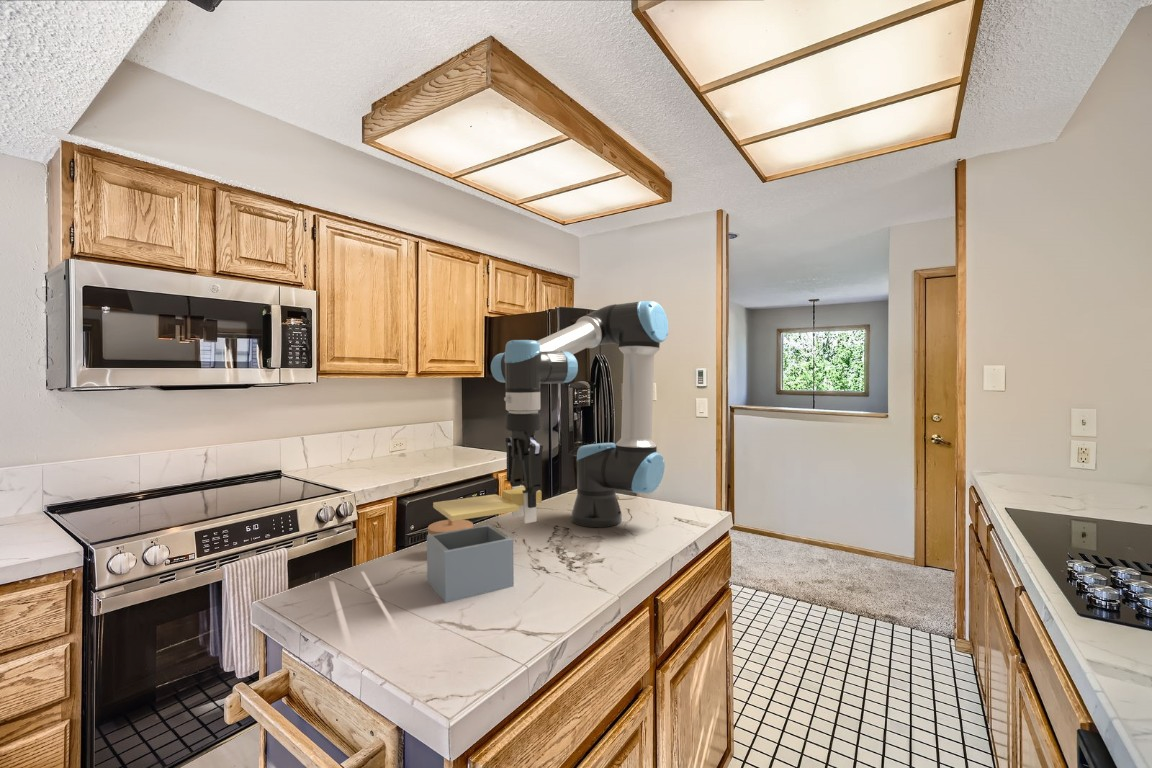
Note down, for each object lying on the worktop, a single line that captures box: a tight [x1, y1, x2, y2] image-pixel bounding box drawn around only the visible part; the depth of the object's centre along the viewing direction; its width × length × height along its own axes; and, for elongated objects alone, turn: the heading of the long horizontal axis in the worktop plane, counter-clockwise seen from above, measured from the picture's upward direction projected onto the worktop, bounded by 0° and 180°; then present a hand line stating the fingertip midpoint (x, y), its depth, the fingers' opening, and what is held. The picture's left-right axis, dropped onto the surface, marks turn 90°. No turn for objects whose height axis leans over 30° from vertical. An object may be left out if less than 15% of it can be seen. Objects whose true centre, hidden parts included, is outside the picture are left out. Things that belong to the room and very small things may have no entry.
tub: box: [426, 524, 515, 604], centre depth 104 cm, size 14×12×11 cm
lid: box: [432, 487, 543, 521], centre depth 107 cm, size 21×12×2 cm, turn 122°
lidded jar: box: [427, 518, 474, 535], centre depth 124 cm, size 11×11×9 cm
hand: (524, 518), depth 111 cm, fingers closed on lid, 5 cm apart
